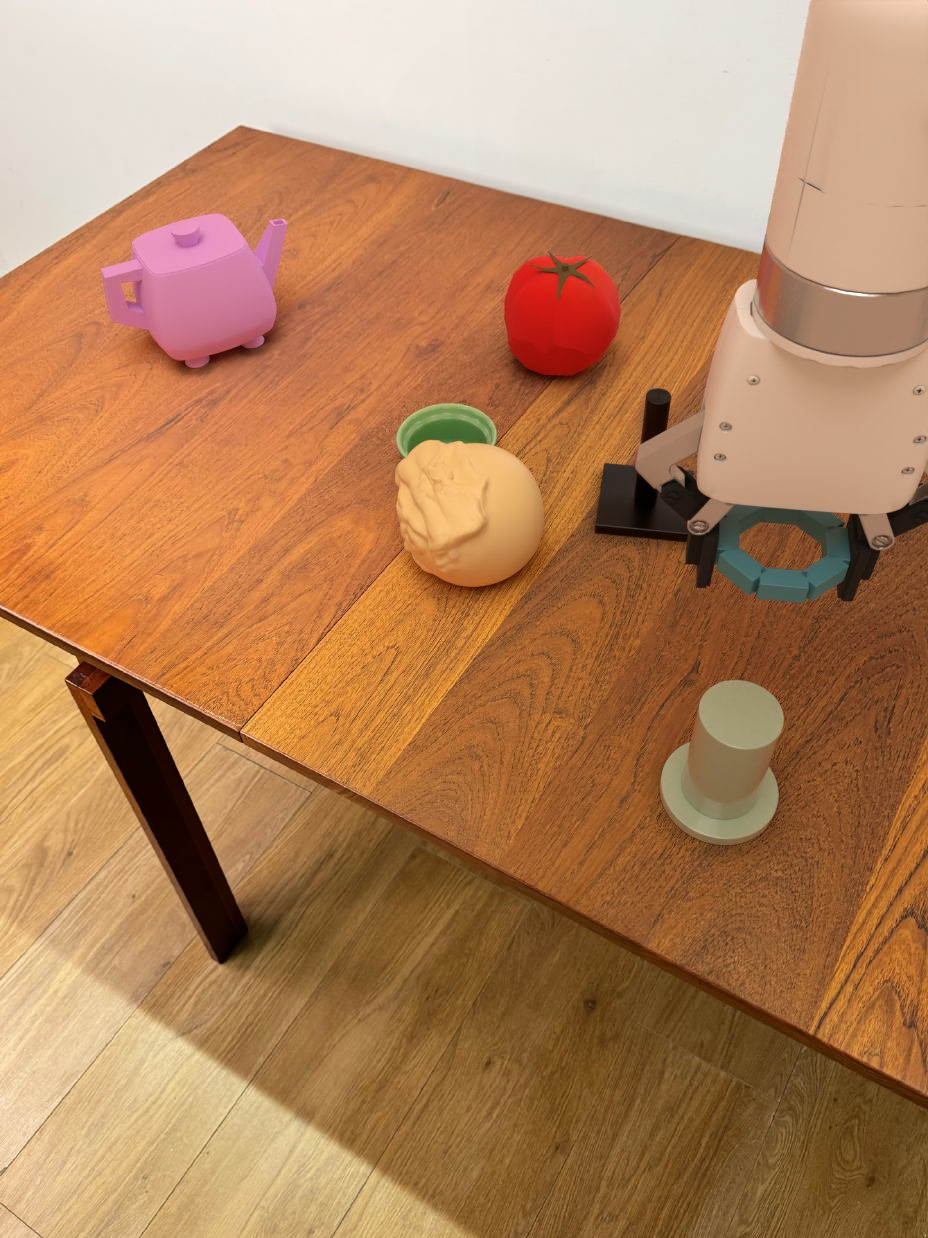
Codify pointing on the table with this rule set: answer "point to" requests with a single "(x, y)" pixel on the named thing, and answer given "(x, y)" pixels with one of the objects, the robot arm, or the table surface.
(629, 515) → the black peg stand
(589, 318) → the tomato
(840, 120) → the robot arm
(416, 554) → the sculpture
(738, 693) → the ring stand
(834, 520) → the ring
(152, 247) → the teapot
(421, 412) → the ramekin
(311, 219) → the table surface
